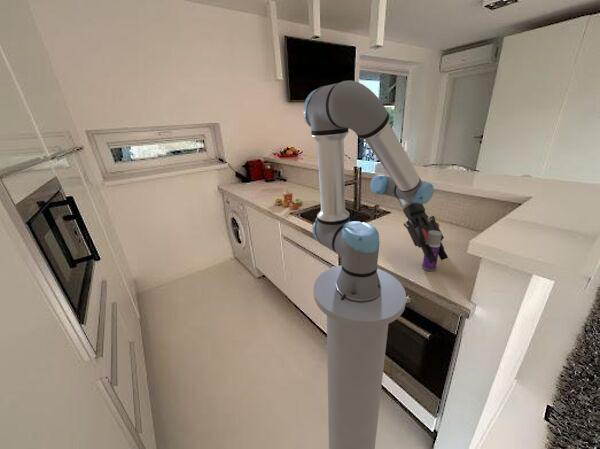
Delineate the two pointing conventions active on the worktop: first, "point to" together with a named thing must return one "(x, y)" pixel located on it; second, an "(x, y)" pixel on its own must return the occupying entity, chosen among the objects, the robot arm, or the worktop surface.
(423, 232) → the cup
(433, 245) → the container
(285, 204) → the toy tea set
